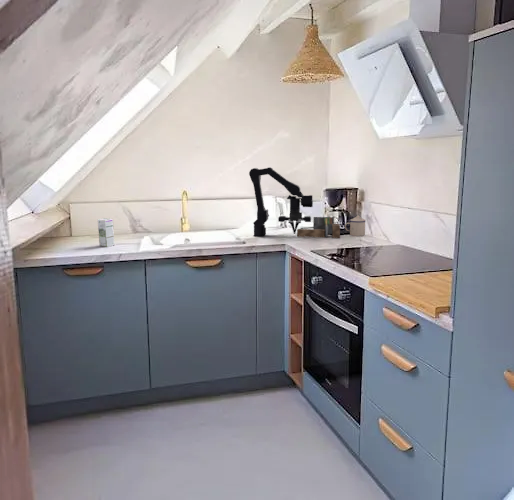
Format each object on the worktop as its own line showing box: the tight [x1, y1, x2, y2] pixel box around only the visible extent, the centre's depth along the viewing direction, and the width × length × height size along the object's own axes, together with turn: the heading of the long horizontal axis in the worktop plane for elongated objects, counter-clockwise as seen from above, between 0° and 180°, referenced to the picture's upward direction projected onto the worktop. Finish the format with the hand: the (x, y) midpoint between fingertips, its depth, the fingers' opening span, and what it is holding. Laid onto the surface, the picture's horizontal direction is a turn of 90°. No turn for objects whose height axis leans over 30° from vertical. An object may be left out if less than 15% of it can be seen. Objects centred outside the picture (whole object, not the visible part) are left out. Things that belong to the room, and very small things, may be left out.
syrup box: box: [97, 217, 115, 248], centre depth 265 cm, size 6×6×14 cm
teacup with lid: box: [344, 215, 366, 237], centre depth 295 cm, size 12×9×12 cm
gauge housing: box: [312, 216, 341, 239], centre depth 294 cm, size 15×17×10 cm
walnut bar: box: [296, 228, 326, 238], centre depth 292 cm, size 16×4×4 cm, turn 74°
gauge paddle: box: [325, 218, 329, 238], centre depth 293 cm, size 1×14×9 cm, turn 173°
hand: (294, 233), depth 293 cm, fingers closed
